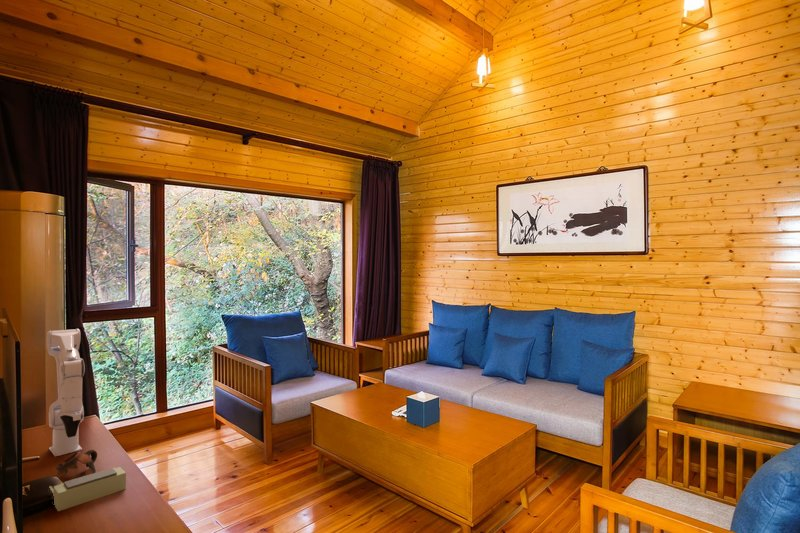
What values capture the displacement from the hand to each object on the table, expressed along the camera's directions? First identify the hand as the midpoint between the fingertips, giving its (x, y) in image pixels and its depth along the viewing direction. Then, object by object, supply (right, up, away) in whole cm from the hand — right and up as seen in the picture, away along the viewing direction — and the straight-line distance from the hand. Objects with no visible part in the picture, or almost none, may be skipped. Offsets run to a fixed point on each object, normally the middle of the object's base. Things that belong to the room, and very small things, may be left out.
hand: (71, 436), depth 150 cm
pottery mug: (+8, -10, -6) cm, 14 cm away
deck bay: (+18, -10, -18) cm, 27 cm away
